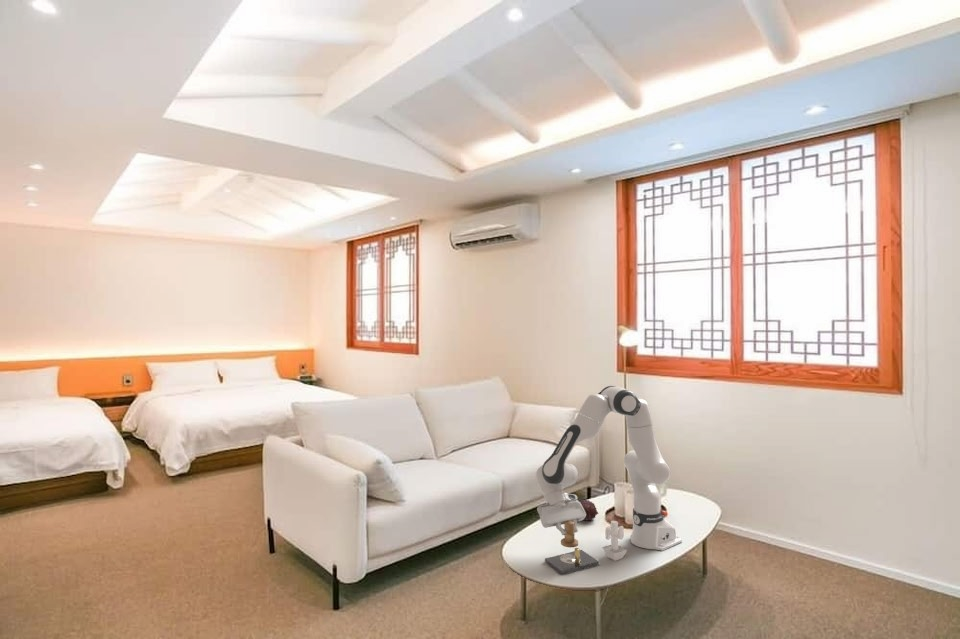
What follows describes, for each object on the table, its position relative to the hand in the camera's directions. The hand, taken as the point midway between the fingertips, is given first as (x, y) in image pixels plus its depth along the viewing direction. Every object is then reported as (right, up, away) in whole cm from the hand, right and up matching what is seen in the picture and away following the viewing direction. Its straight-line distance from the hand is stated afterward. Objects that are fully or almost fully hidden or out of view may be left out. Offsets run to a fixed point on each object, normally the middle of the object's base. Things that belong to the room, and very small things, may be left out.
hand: (570, 533), depth 215 cm
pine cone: (+15, -12, +47) cm, 51 cm away
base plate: (+1, -12, 0) cm, 12 cm away
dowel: (+2, -11, -4) cm, 12 cm away
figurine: (+19, -12, +5) cm, 23 cm away
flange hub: (0, -4, +1) cm, 4 cm away
